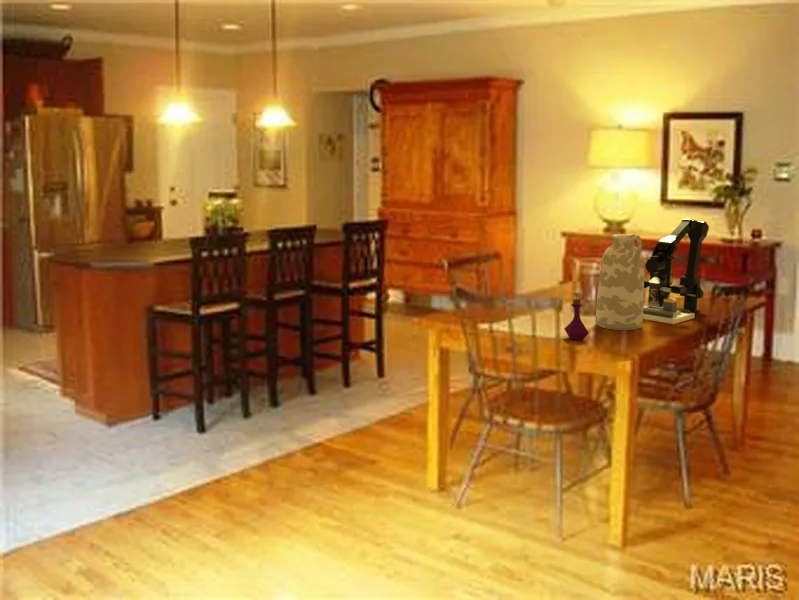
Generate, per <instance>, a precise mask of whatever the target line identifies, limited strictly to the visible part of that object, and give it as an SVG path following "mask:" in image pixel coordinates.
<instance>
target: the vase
mask: <svg viewBox="0 0 799 600" xmlns="http://www.w3.org/2000/svg"><path fill="white" fill-rule="evenodd" d="M611 237H612V239H613V243H612V245H610V246H609V247H607V248H606V249H605V251H604V252H603V254H602V257H601V260H600V261H601V262H600V269H599V278H598V288H597V296H596V309H595V325H596V326H598V327H599V328H602V329H607V330H611V331H612V330H613V331H635V330H639V329H642V327H643V324H644V323H643V320H644V319H643V307H644V304H645V303H644V302H645V301H644V297H645V296H644V295H645V294H644V293H645V288H644V280H645V261H644V260H645V259H644V256H643V255H644V254H643V253H642V250H643V242H642V238H641V236H640V235H639V234H637V233H633V234H626V233H624V234H622V233H621V234H620V233H619V234H617V233H616V234H613V235H612V236H611ZM635 240H636V241H635ZM635 242H637V246H636V245H635Z"/></svg>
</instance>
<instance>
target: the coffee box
mask: <svg viewBox="0 0 799 600" xmlns="http://www.w3.org/2000/svg"><path fill="white" fill-rule="evenodd" d="M649 273H650V272H649ZM655 273H656V272H653V273H650V275H649V280H651V279H652V278H654V277H655ZM671 273H673V270H672V269H671ZM672 276H673V274H672V275H671V278H672ZM670 282H672V279H671V280H670ZM670 286H672V285H670ZM652 290H653V289H650V288H649V287H648V296H647V297H648V298H647V305H649V304H655V305H659V301H658V298H657V295H656V293H655V292H654V291H652ZM670 296H671V293H670V294H669V295H668V297H667V298H671V297H670Z"/></svg>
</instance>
